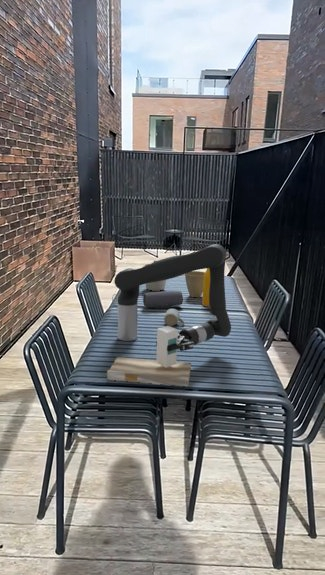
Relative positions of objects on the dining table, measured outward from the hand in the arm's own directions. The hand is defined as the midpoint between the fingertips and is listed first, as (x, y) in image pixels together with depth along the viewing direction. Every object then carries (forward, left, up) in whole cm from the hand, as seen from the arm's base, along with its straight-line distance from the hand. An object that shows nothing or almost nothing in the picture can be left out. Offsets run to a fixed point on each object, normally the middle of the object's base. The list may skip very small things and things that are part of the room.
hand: (162, 346), depth 147 cm
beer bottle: (-100, +17, -12) cm, 102 cm away
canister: (-130, -22, -12) cm, 132 cm away
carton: (-2, +2, -8) cm, 8 cm away
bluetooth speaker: (-88, -11, -12) cm, 89 cm away
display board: (0, -4, -12) cm, 12 cm away
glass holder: (-65, -29, -12) cm, 72 cm away
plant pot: (-118, +7, -12) cm, 119 cm away
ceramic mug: (-59, -1, -12) cm, 60 cm away
